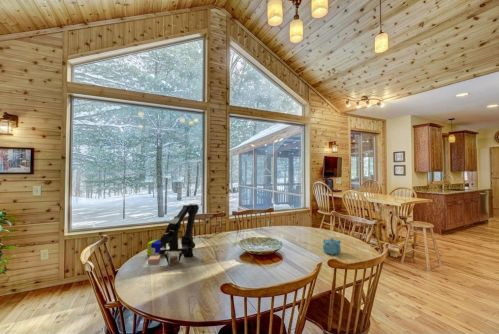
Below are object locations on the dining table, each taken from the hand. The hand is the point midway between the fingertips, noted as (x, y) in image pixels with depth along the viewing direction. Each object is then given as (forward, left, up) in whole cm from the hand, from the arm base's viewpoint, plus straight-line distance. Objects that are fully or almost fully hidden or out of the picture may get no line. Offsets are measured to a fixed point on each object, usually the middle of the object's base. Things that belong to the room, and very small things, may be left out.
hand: (173, 262), depth 167 cm
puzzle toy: (+15, -22, -1) cm, 26 cm away
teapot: (-121, +1, -1) cm, 122 cm away
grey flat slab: (+12, -3, -1) cm, 12 cm away
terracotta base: (+14, -5, 0) cm, 14 cm away
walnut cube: (0, 0, -1) cm, 1 cm away
